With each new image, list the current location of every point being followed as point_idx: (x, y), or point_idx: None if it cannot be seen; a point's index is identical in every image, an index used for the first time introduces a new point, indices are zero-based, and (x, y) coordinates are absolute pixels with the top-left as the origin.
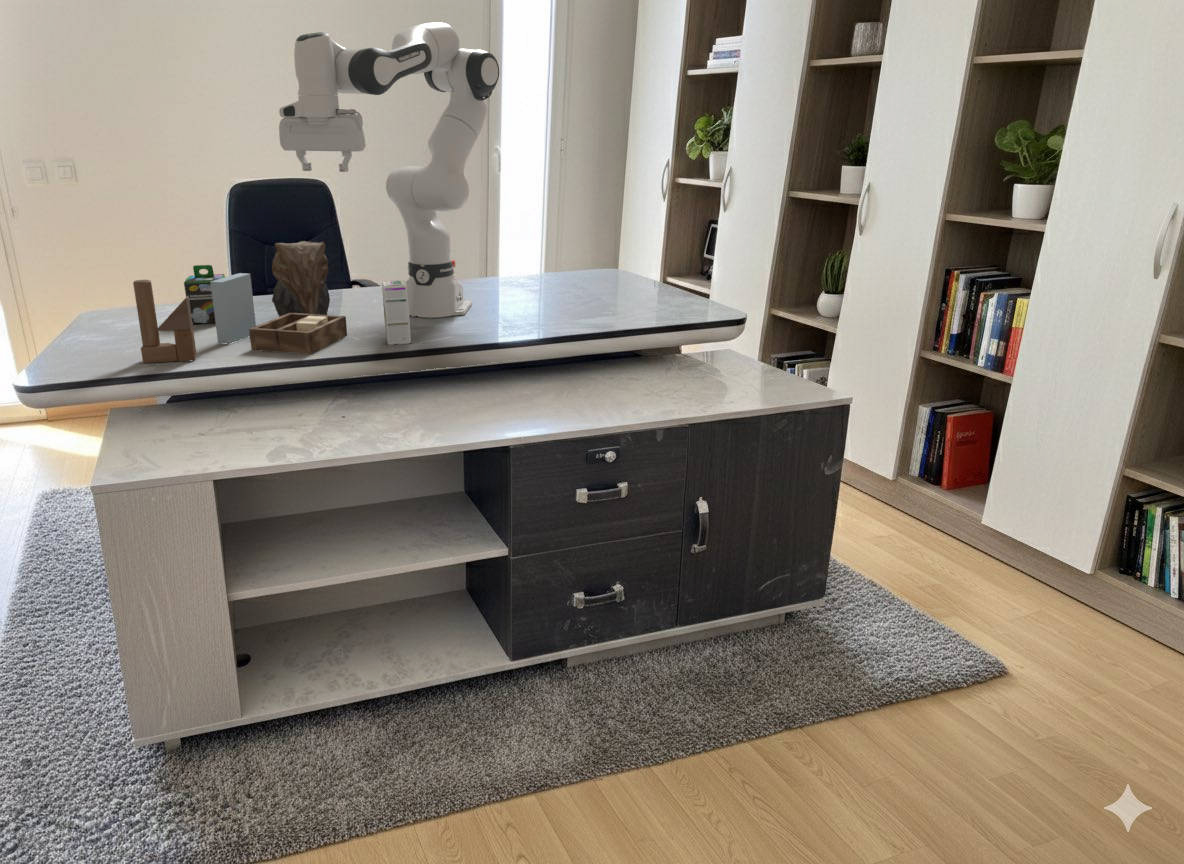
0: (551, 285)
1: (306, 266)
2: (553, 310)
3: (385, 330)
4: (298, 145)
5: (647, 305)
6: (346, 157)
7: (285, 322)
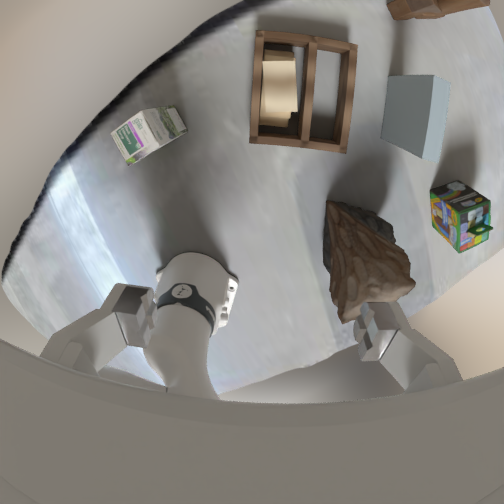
0: (151, 377)
1: (355, 260)
2: (94, 301)
3: (181, 126)
4: (466, 411)
5: (53, 320)
6: (62, 332)
7: (340, 125)
